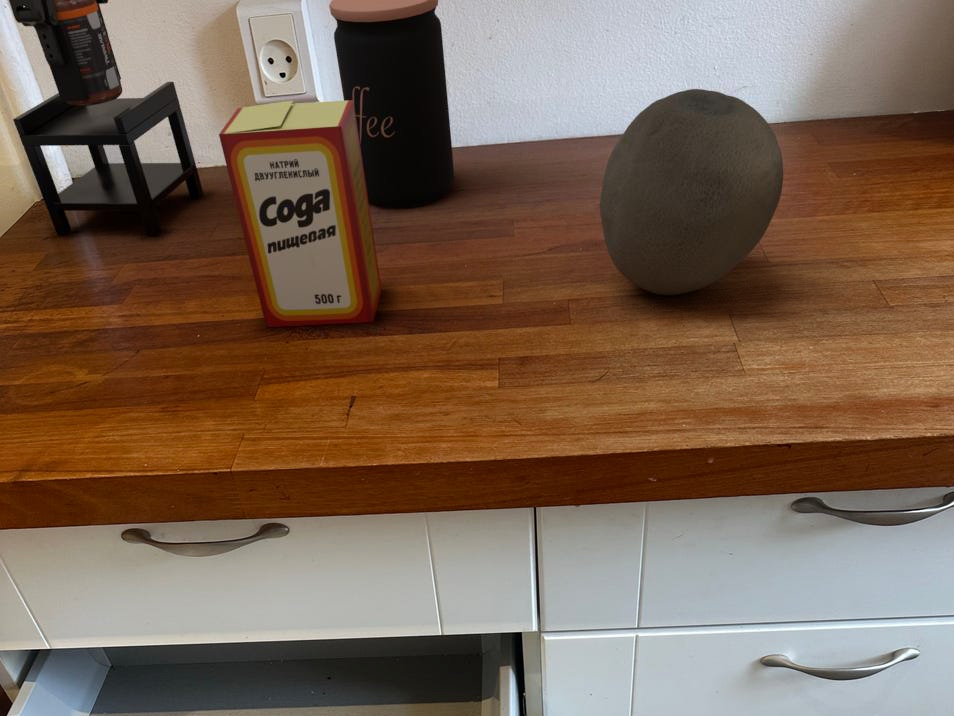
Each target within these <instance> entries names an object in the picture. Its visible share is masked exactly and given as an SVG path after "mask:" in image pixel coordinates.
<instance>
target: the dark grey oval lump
mask: <svg viewBox="0 0 954 716" xmlns="http://www.w3.org/2000/svg"><path fill="white" fill-rule="evenodd" d="M783 184H784V162H783V155H782V151H781V147H780V144H779V141H778V139H777V136H776V134H775V132H774V130H773V128H772V127H771V125H770V124H769V122H768V121H767V120H766V118H765V117H764V116H763V115H761V113H760V112H759V111H757V110H756V109H755V107H753V106H751V105H750V104H749V103H747V102H746V101H744V100H743V99H742V98H741V99H740V98H738V97H736V96H732V95H728V94H725V93H724V92H720V91H716V90H706V89H701V88H700V89H699V88H690V89H686V90H682V91H677V92H674V93H672V94H669V95H667V96H665V97H663V98H660V99H656V100H655V101H654V102H652V103H651V104H649V105H648V106H646V108H644V109H643V110H642V111H640V112H639V113H638V114H637V115H636V116H635V117H634V119H633V120H632V121H631V122H630V123H629V125H628V126H627V127H626V129H625V130H624V132H623V134H622V135H621V136H620V138H619V139H618V141H617V142H616V144H615V146H614V147H613V149H612V150H611V153H610V156H609V157H608V159H607V163H606V168H605V172H604V176H603V179H602V184H601V194H600V199H599V215H600V220H601V226H602V231H603V237H604V242H605V246H606V248H607V249H606V250H607V252H608V255H609V257H610V259H611V261H612V263H613V266H614V267H615V268H616V269H617V271H618V272H619V273H620V274H621V275H622V276H623V277H624V278H626V279H627V280H628V281H630V282H631V283H632V284H633V285H636V286H637V287H639V288H641V289H642V290H644V291H647V292H649V293H652V294H655V295H660V296H675V295H676V296H677V295H681V294H687V293H690V292H695V291H698V290H700V289H703V288H705V287H707V286H709V285H711V284H712V283H715V282H717V281H718V280H720V279H722V278H723V277H724V276H726V275H727V274H728V273H729V272H731V271H732V270H733V269H735V268H736V267H737V266H738V265H739V264H740V263H741V262H742V261H743V260H744V259H745V258H746V257H747V256H749V254H750V253H751V252H753V250H754V249H755V247H756V246H757V245H758V244H759V243H760V241H761V240H762V238H763V237H764V235H765V233H766V231H767V230H768V228H769V226H770V224H771V222H772V219H773V217H774V215H775V212H776V210H777V208H778V205H779V203H780V199H781V195H782V191H783Z"/></svg>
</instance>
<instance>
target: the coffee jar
mask: <svg viewBox="0 0 954 716" xmlns="http://www.w3.org/2000/svg"><path fill="white" fill-rule="evenodd" d="M438 5H439V0H330V2H329V4H328V7H329V12H330V15H331V16H332V17H333V18H334V21H336V28H335V30H334V32H333V40H334V46H335V52H336V53H335V54H336V60H337V66H338V72H339V77H340V84H341V85H340V86H341V90H342V97H343V101H347V100H353V103H354V109H355V116H356V123H357V129H358V136H359V142H360V149H361V156H362V162H363V169H364V176H365V182H366V189H367V195H368V202H369V203H371V204H373V205H375V206H380V207H384V208H410V207H416V206H421V205H426V204H428V203H429V204H430V203H431V202H434V201H438V200H439V199H440V198H442V197H444V196H445V195H447V193H448V192H449V191H450V188H451V186H452V184H453V182H454V181H455V167H454V156H453V155H454V154H453V142H452V133H451V122H450V110H449V100H448V99H449V98H448V89H447V78H446V77H447V75H446V66H445V65H446V64H445V54H444V42H443V33H442V30H443V29H442V21H441V19H440V18H439V16H437V14H436V9H437V7H438Z"/></svg>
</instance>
